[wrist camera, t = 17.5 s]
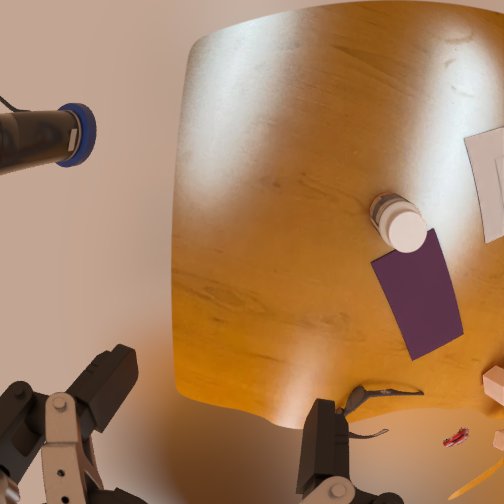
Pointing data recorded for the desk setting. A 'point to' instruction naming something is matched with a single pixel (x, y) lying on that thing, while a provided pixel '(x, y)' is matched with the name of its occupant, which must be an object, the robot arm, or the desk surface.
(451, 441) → the toy car
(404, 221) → the pill bottle
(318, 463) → the robot arm
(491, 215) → the paper stack
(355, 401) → the sunglasses
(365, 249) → the desk surface
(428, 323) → the cloth
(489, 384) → the pile of blocks
